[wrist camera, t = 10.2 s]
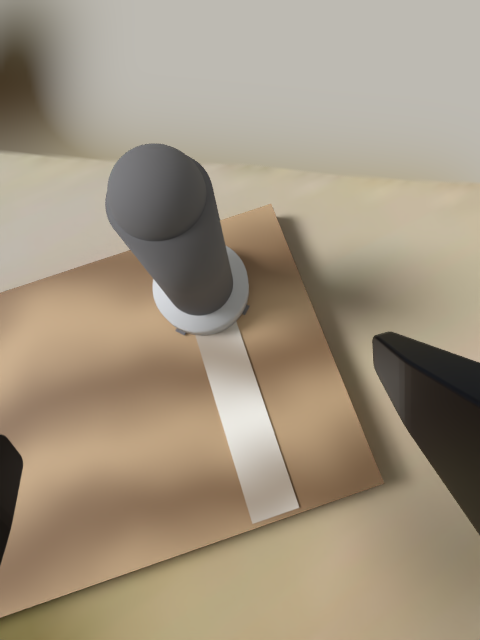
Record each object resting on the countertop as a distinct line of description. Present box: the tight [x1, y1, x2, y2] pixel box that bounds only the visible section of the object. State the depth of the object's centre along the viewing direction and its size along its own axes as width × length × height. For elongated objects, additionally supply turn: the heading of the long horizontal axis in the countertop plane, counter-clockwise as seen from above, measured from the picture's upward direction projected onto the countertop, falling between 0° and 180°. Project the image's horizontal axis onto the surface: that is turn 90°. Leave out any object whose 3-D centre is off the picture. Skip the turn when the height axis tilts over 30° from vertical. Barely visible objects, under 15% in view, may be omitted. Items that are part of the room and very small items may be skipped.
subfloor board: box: [0, 204, 384, 618], centre depth 21 cm, size 16×23×2 cm
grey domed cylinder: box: [105, 144, 249, 336], centre depth 16 cm, size 5×5×11 cm
